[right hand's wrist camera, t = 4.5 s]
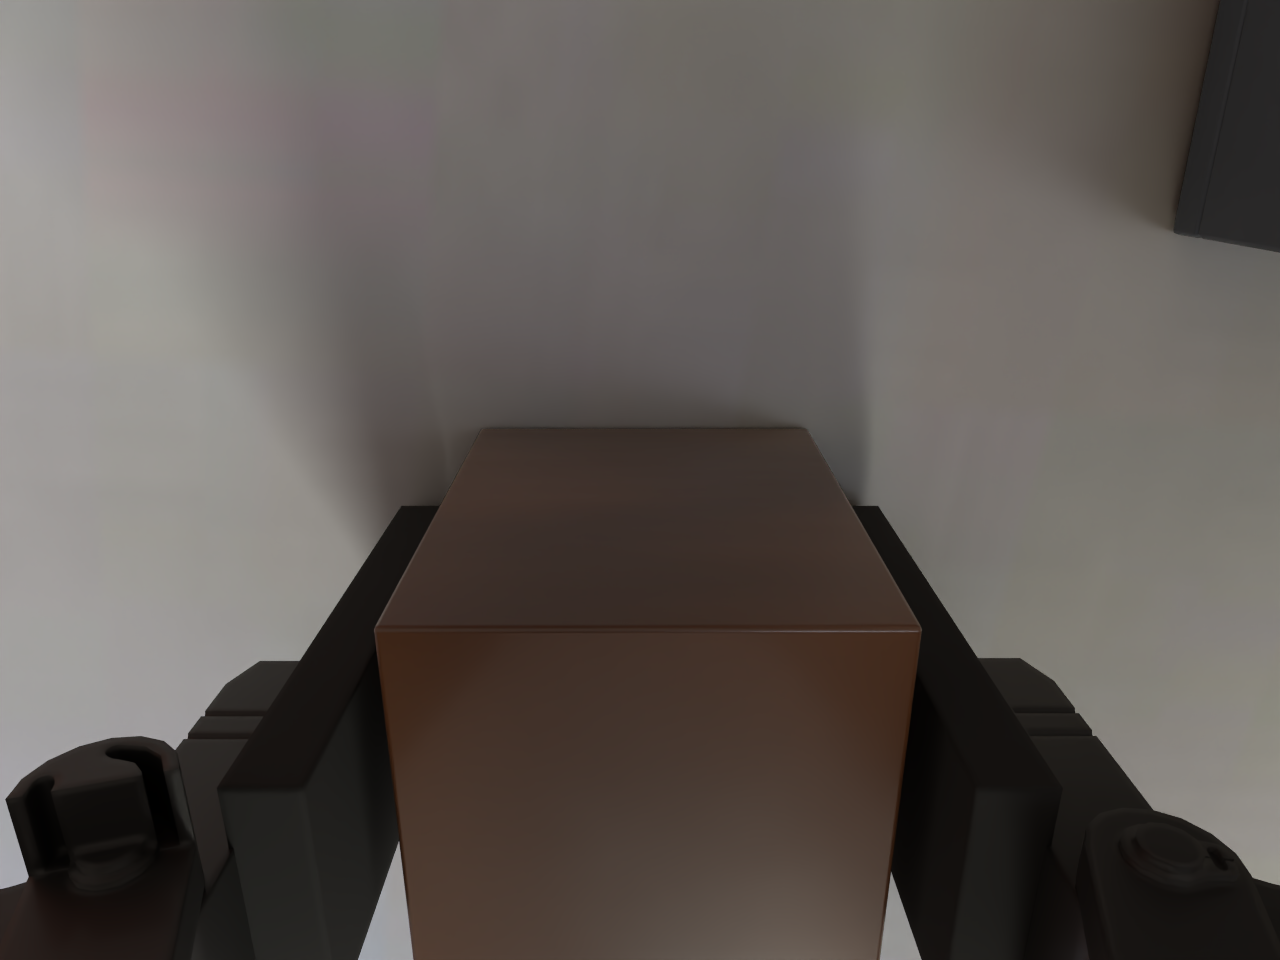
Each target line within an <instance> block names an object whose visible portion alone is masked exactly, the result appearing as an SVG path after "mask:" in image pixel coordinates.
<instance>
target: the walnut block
mask: <svg viewBox="0 0 1280 960" xmlns="http://www.w3.org/2000/svg"><path fill="white" fill-rule="evenodd" d="M921 632H922V629H921V626H920V624H919V622H918V621H917V619H916V617H915V615H914V614H913V612H912V610H911V608H910V607H909V605H908V603H907V602H906V600H905V598H904V596H903V595H902V593H901V591H900V589H899V588H898V586H897V584H896V582H895V581H894V579H893V577H892V576H891V574H890V572H889V570H888V569H887V567H886V565H885V563H884V562H883V560H882V558H881V556H880V555H879V553H878V551H877V549H876V548H875V546H874V544H873V543H872V541H871V539H870V537H869V536H868V534H867V532H866V530H865V529H864V527H863V525H862V523H861V522H860V520H859V518H858V517H857V515H856V513H855V511H854V510H853V508H852V506H851V504H850V503H849V501H848V499H847V497H846V496H845V494H844V492H843V491H842V489H841V487H840V485H839V484H838V482H837V480H836V478H835V477H834V475H833V473H832V471H831V470H830V468H829V466H828V465H827V463H826V461H825V459H824V458H823V456H822V454H821V452H820V451H819V449H818V447H817V445H816V444H815V442H814V440H813V438H812V437H811V435H810V433H809V432H808V430H807V429H482V430H481V431H480V433H479V434H478V436H477V438H476V440H475V442H474V444H473V446H472V447H471V449H470V451H469V453H468V455H467V457H466V459H465V460H464V462H463V464H462V466H461V468H460V470H459V472H458V473H457V475H456V477H455V479H454V481H453V483H452V485H451V486H450V488H449V490H448V492H447V494H446V496H445V498H444V499H443V501H442V503H441V505H440V507H439V509H438V511H437V512H436V514H435V516H434V518H433V520H432V522H431V524H430V526H429V527H428V529H427V531H426V533H425V535H424V537H423V539H422V540H421V542H420V544H419V546H418V548H417V550H416V552H415V553H414V555H413V557H412V559H411V561H410V563H409V565H408V566H407V568H406V570H405V572H404V574H403V576H402V578H401V579H400V581H399V583H398V585H397V587H396V589H395V591H394V592H393V594H392V596H391V598H390V600H389V602H388V604H387V605H386V607H385V609H384V611H383V613H382V615H381V617H380V618H379V620H378V622H377V624H376V626H375V629H374V634H375V642H376V651H377V659H378V667H379V676H380V684H381V692H382V701H383V709H384V717H385V726H386V734H387V742H388V751H389V759H390V768H391V776H392V784H393V793H394V801H395V809H396V818H397V826H398V834H399V843H400V851H401V859H402V868H403V876H404V884H405V893H406V901H407V909H408V918H409V926H410V934H411V943H412V951H413V959H414V960H880V954H881V946H882V938H883V930H884V922H885V915H886V907H887V899H888V891H889V883H890V875H891V868H892V860H893V852H894V844H895V836H896V828H897V821H898V813H899V805H900V797H901V789H902V781H903V773H904V766H905V758H906V750H907V742H908V734H909V726H910V719H911V711H912V703H913V695H914V687H915V679H916V672H917V664H918V656H919V648H920V640H921Z"/></svg>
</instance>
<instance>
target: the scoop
mask: <svg viewBox="0 0 1280 960" xmlns="http://www.w3.org/2000/svg"><path fill="white" fill-rule="evenodd" d="M1174 233H1176V234H1179V235H1185V236H1190V237H1196V238H1203V239H1208V240H1213V241H1219V242H1224V243H1230V244H1236V245H1241V246H1247V247H1252V248H1258V249H1263V250H1269V251H1274V252H1280V0H1220V4H1219V9H1218V14H1217V19H1216V24H1215V29H1214V33H1213V38H1212V43H1211V48H1210V53H1209V58H1208V63H1207V68H1206V73H1205V78H1204V82H1203V87H1202V92H1201V97H1200V102H1199V107H1198V112H1197V117H1196V122H1195V126H1194V131H1193V136H1192V141H1191V146H1190V151H1189V156H1188V161H1187V166H1186V171H1185V175H1184V180H1183V185H1182V190H1181V195H1180V200H1179V205H1178V210H1177V215H1176V219H1175V224H1174Z"/></svg>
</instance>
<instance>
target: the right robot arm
mask: <svg viewBox="0 0 1280 960" xmlns="http://www.w3.org/2000/svg"><path fill="white" fill-rule="evenodd" d="M439 507H440V506H401V508H400V509H399V511H398V512H397V514H396V515H395V517H394V518H393V520H392V521H391V523H390V524H389V526H388V527H387V529H386V531H385V532H384V534H383V535H382V537H381V538H380V540H379V541H378V543H377V544H376V546H375V547H374V549H373V550H372V552H371V553H370V555H369V556H368V558H367V559H366V561H365V563H364V564H363V566H362V567H361V569H360V570H359V572H358V573H357V575H356V576H355V578H354V579H353V581H352V582H351V584H350V585H349V587H348V588H347V590H346V591H345V593H344V595H343V596H342V598H341V599H340V601H339V602H338V604H337V605H336V607H335V608H334V610H333V611H332V613H331V614H330V616H329V617H328V619H327V620H326V622H325V623H324V625H323V627H322V628H321V630H320V631H319V633H318V634H317V636H316V637H315V639H314V640H313V642H312V643H311V645H310V646H309V648H308V649H307V651H306V652H305V654H304V655H303V657H302V659H301V660H300V661H259V662H258V663H256V664H255V665H253V666H252V667H251V668H249V669H248V670H246V671H245V672H243V673H242V674H240V675H239V676H237V677H236V678H234V679H233V680H231V681H230V682H228V683H227V684H226V685H225V686H224V687H223V689H222V690H221V691H220V693H219V694H218V695H217V696H216V698H215V699H214V700H213V702H212V703H211V704H210V706H209V707H208V708H207V710H206V711H205V716H201V717H200V719H199V720H198V721H197V723H196V724H195V725H194V727H193V728H192V729H191V730H190V732H189V733H188V739H184V740H183V741H182V742H181V744H180V745H179V746H178V747H177V749H176V750H174V749H173V748H172V747H170V746H169V745H168V744H167V743H166V742H164V741H161V740H156V739H152V738H147V737H142V736H137V737H121V738H110V739H106V740H102V741H98V742H95V743H91V744H87V745H83V746H79V747H77V748H75V749H73V750H70V751H68V752H66V753H64V754H62V755H59V756H57V757H55V758H53V759H50V760H48V761H47V762H45V763H44V764H42V765H41V766H40V767H38V768H37V769H35V770H34V771H33V772H31V773H30V774H28V775H27V776H25V777H24V778H23V779H21V781H20V782H19V783H18V784H17V786H16V787H15V788H14V789H13V791H12V792H11V793H10V794H9V796H8V797H7V798H6V799H5V800H6V803H7V806H8V809H9V813H10V816H11V819H12V823H13V826H14V829H15V832H16V836H17V839H18V842H19V846H20V849H21V852H22V856H23V859H24V862H25V865H26V869H27V872H28V875H29V878H28V880H27V882H25V883H22V884H19V885H15V886H12V887H9V888H4V889H0V960H358V958H359V955H360V952H361V949H362V946H363V943H364V940H365V937H366V934H367V932H368V929H369V926H370V923H371V920H372V917H373V914H374V911H375V908H376V906H377V903H378V900H379V897H380V894H381V891H382V888H383V885H384V882H385V879H386V877H387V874H388V871H389V868H390V865H391V862H392V859H393V856H394V853H395V850H396V848H397V845H398V842H399V834H398V826H397V818H396V809H395V801H394V793H393V784H392V776H391V768H390V759H389V751H388V742H387V734H386V726H385V717H384V709H383V701H382V692H381V684H380V676H379V667H378V659H377V651H376V642H375V634H374V629H375V626H376V624H377V622H378V620H379V618H380V617H381V615H382V613H383V611H384V609H385V607H386V605H387V604H388V602H389V600H390V598H391V596H392V594H393V592H394V591H395V589H396V587H397V585H398V583H399V581H400V579H401V578H402V576H403V574H404V572H405V570H406V568H407V566H408V565H409V563H410V561H411V559H412V557H413V555H414V553H415V552H416V550H417V548H418V546H419V544H420V542H421V540H422V539H423V537H424V535H425V533H426V531H427V529H428V527H429V526H430V524H431V522H432V520H433V518H434V516H435V514H436V512H437V511H438V509H439ZM852 508H853V510H854V511H855V513H856V515H857V517H858V518H859V520H860V522H861V523H862V525H863V527H864V529H865V530H866V532H867V534H868V536H869V537H870V539H871V541H872V543H873V544H874V546H875V548H876V549H877V551H878V553H879V555H880V556H881V558H882V560H883V562H884V563H885V565H886V567H887V569H888V570H889V572H890V574H891V576H892V577H893V579H894V581H895V582H896V584H897V586H898V588H899V589H900V591H901V593H902V595H903V596H904V598H905V600H906V602H907V603H908V605H909V607H910V608H911V610H912V612H913V614H914V615H915V617H916V619H917V621H918V622H919V624H920V626H921V629H922V632H921V640H920V648H919V656H918V664H917V672H916V679H915V687H914V695H913V703H912V711H911V719H910V726H909V734H908V742H907V750H906V758H905V766H904V773H903V781H902V789H901V797H900V805H899V813H898V821H897V828H896V836H895V844H894V852H893V860H892V868H891V872H892V875H893V878H894V881H895V884H896V887H897V889H898V892H899V895H900V898H901V901H902V904H903V907H904V910H905V913H906V916H907V918H908V921H909V924H910V927H911V930H912V933H913V936H914V939H915V942H916V945H917V947H918V950H919V953H920V956H921V959H922V960H1280V885H1275V884H1271V883H1268V882H1264V881H1261V880H1258V879H1254V878H1252V876H1251V874H1250V873H1249V871H1248V870H1247V869H1246V867H1245V866H1244V864H1243V863H1242V861H1241V860H1240V859H1239V857H1238V856H1237V854H1236V853H1235V852H1233V851H1232V850H1231V849H1230V848H1228V847H1227V846H1226V845H1225V844H1223V843H1222V842H1221V841H1220V840H1219V839H1217V838H1216V837H1215V836H1214V835H1212V834H1211V833H1209V832H1207V831H1205V830H1203V829H1201V828H1199V827H1197V826H1195V825H1193V824H1191V823H1189V822H1187V821H1185V820H1183V819H1181V818H1178V817H1175V816H1171V815H1168V814H1164V813H1161V812H1157V811H1154V810H1153V809H1152V808H1151V806H1150V805H1149V804H1148V803H1147V801H1146V800H1145V799H1144V797H1143V796H1142V795H1141V793H1140V792H1139V791H1138V790H1137V788H1136V787H1135V786H1134V784H1133V783H1132V782H1131V780H1130V779H1129V778H1128V777H1127V775H1126V774H1125V773H1124V771H1123V770H1122V769H1121V767H1120V766H1119V765H1118V764H1117V762H1116V761H1115V760H1114V758H1113V757H1112V756H1111V754H1110V753H1109V752H1108V751H1107V749H1106V748H1105V747H1104V745H1103V744H1102V743H1101V741H1100V740H1099V739H1098V738H1097V736H1092V730H1091V728H1090V727H1089V726H1088V725H1087V723H1086V722H1085V721H1084V719H1083V718H1082V717H1081V715H1080V714H1079V713H1075V708H1074V706H1073V705H1072V704H1071V702H1070V701H1069V700H1068V699H1067V697H1066V696H1065V695H1064V693H1063V692H1062V691H1061V689H1060V688H1059V687H1058V686H1057V684H1056V683H1055V682H1054V681H1053V680H1052V679H1050V678H1049V677H1047V676H1046V675H1044V674H1043V673H1041V672H1040V671H1038V670H1037V669H1035V668H1034V667H1032V666H1031V665H1029V664H1028V663H1026V662H1025V661H1023V660H1022V659H1020V658H977V656H976V655H975V653H974V652H973V650H972V649H971V647H970V646H969V644H968V643H967V641H966V639H965V638H964V636H963V635H962V633H961V632H960V630H959V629H958V627H957V626H956V624H955V623H954V621H953V620H952V618H951V617H950V615H949V614H948V612H947V611H946V609H945V607H944V606H943V604H942V603H941V601H940V600H939V598H938V597H937V595H936V594H935V592H934V591H933V589H932V588H931V586H930V585H929V583H928V582H927V580H926V579H925V577H924V575H923V574H922V572H921V571H920V569H919V568H918V566H917V565H916V563H915V562H914V560H913V559H912V557H911V556H910V554H909V553H908V551H907V550H906V548H905V546H904V545H903V543H902V542H901V540H900V539H899V537H898V536H897V534H896V533H895V531H894V530H893V528H892V527H891V525H890V524H889V522H888V521H887V519H886V518H885V516H884V514H883V513H882V511H881V510H880V508H879V507H878V506H852Z"/></svg>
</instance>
